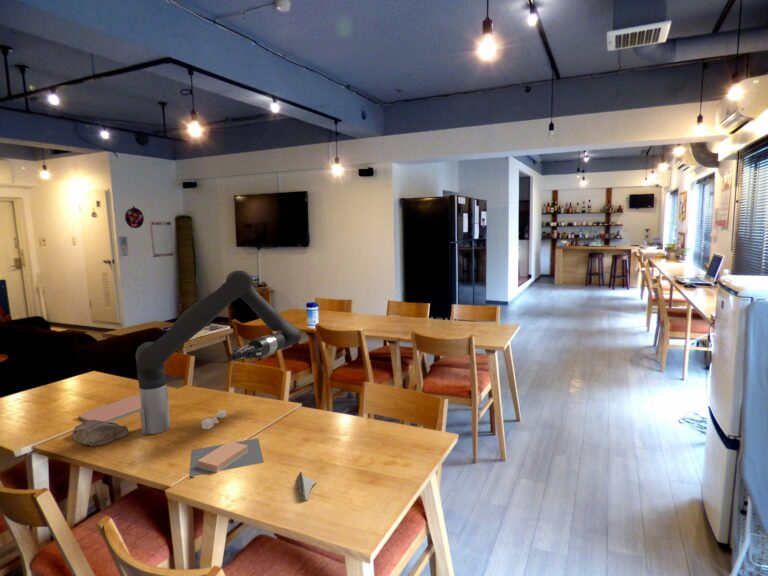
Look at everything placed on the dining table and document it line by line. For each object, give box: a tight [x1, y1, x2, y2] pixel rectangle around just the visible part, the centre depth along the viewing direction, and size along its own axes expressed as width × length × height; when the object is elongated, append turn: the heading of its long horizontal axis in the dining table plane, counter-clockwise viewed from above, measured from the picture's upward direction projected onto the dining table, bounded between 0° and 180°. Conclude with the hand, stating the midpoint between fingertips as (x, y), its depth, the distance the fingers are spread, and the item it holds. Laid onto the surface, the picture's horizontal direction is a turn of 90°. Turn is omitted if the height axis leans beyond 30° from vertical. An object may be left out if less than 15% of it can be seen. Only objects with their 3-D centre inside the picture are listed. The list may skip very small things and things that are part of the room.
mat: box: [188, 437, 264, 479], centre depth 151 cm, size 22×18×1 cm
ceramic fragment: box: [297, 471, 317, 502], centre depth 133 cm, size 14×5×4 cm, turn 14°
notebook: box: [77, 394, 141, 422], centre depth 191 cm, size 27×17×2 cm, turn 149°
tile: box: [198, 440, 248, 473], centre depth 148 cm, size 2×8×14 cm
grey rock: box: [72, 420, 129, 447], centre depth 168 cm, size 14×5×20 cm
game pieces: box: [200, 409, 227, 430], centre depth 178 cm, size 12×3×3 cm, turn 165°
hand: (231, 357), depth 164 cm, fingers closed
